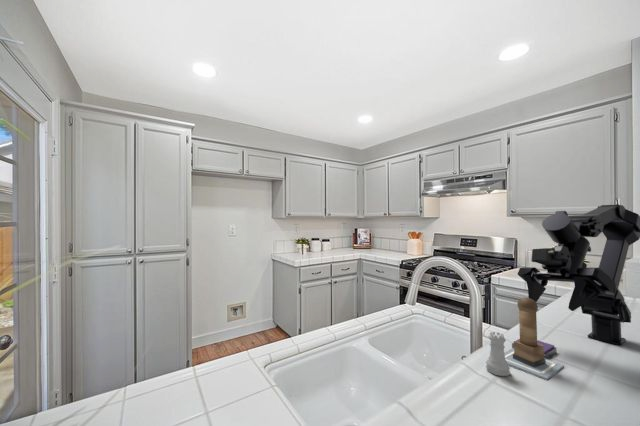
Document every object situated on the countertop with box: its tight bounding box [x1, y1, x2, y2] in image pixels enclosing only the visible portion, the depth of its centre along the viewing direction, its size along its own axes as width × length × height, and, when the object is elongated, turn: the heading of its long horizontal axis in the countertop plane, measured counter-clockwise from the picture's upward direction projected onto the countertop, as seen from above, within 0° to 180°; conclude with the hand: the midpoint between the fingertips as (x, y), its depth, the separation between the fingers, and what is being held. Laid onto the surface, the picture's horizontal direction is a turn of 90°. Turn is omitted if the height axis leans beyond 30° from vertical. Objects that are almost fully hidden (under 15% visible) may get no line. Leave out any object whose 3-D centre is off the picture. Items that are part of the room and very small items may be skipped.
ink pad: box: [511, 338, 558, 360], centre depth 69 cm, size 7×7×2 cm
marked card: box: [504, 347, 565, 381], centre depth 62 cm, size 10×10×1 cm
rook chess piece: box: [485, 331, 511, 377], centre depth 59 cm, size 4×4×8 cm
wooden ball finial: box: [513, 297, 546, 367], centre depth 63 cm, size 4×4×14 cm
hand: (549, 306), depth 65 cm, fingers open, 9 cm apart
